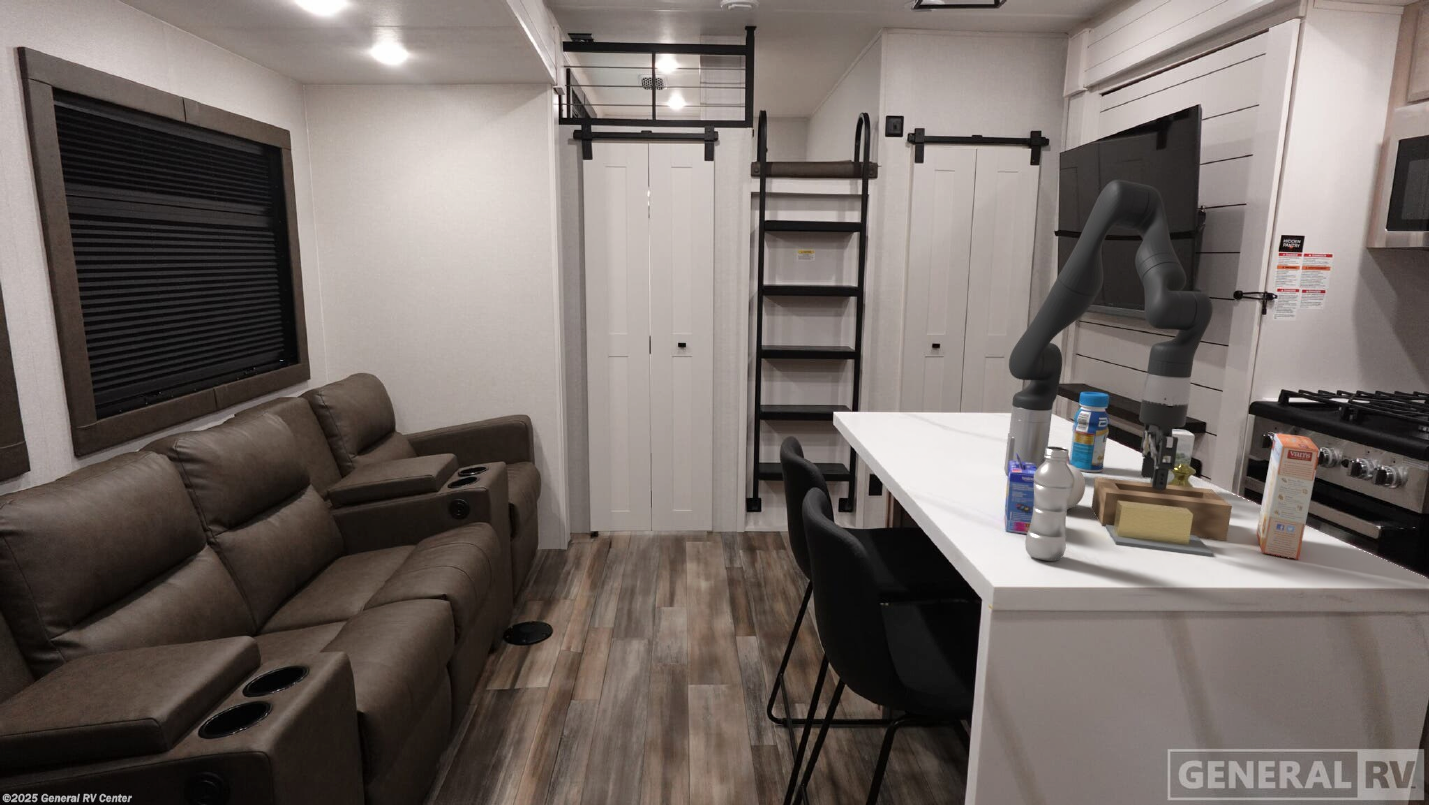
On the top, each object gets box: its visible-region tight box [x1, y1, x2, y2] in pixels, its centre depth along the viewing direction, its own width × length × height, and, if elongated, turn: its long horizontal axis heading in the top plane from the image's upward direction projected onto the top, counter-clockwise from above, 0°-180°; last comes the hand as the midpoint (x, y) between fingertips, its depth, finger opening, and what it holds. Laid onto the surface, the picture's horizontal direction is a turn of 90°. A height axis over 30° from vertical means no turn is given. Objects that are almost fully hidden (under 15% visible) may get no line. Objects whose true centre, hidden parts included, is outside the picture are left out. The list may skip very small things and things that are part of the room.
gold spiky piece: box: [1167, 463, 1197, 487], centre depth 166 cm, size 7×7×10 cm
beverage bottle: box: [1069, 391, 1110, 473], centre depth 197 cm, size 8×8×20 cm
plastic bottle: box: [1024, 445, 1074, 562], centre depth 133 cm, size 6×7×20 cm
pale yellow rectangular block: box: [1113, 500, 1193, 545], centre depth 145 cm, size 12×4×6 cm, turn 73°
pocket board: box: [1090, 476, 1233, 541], centre depth 156 cm, size 22×12×7 cm, turn 73°
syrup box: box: [1149, 428, 1196, 483], centre depth 180 cm, size 6×6×14 cm
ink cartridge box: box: [1004, 453, 1037, 535], centre depth 150 cm, size 10×6×14 cm, turn 161°
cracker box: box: [1256, 433, 1321, 560], centre depth 143 cm, size 14×6×21 cm, turn 148°
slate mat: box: [1105, 525, 1214, 557], centre depth 145 cm, size 16×10×1 cm, turn 73°
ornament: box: [1066, 454, 1086, 510], centre depth 163 cm, size 10×10×12 cm
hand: (1152, 483), depth 144 cm, fingers open, 8 cm apart
